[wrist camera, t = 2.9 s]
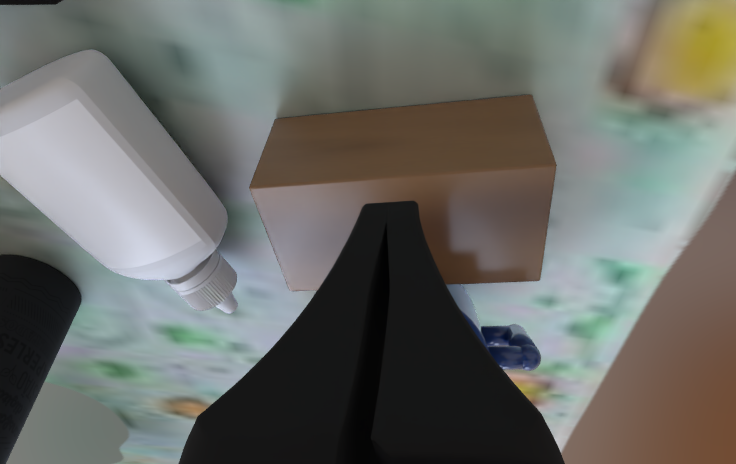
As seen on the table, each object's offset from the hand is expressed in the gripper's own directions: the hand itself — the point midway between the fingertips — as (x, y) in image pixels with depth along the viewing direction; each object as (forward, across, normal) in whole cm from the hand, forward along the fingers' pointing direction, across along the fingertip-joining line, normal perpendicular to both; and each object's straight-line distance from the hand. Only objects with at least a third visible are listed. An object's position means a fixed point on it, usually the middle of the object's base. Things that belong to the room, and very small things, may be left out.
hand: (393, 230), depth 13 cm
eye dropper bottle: (+4, +12, -3) cm, 13 cm away
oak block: (+6, 0, +2) cm, 7 cm away
